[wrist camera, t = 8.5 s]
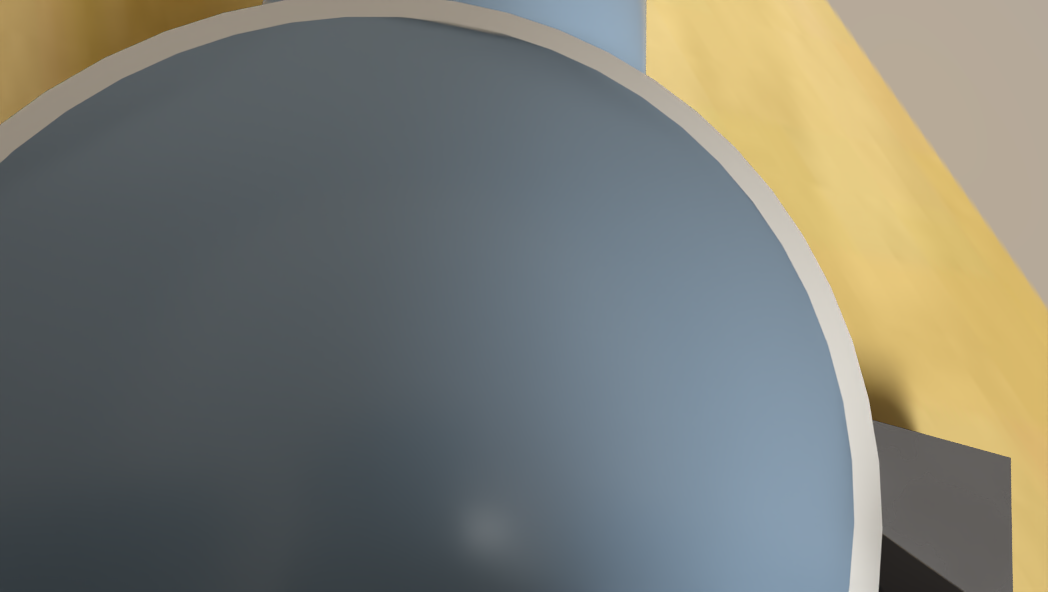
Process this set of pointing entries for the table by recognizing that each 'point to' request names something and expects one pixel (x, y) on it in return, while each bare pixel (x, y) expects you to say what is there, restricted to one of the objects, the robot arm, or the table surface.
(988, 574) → the duct collar
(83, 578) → the duct elbow
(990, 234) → the table surface
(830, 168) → the table surface
